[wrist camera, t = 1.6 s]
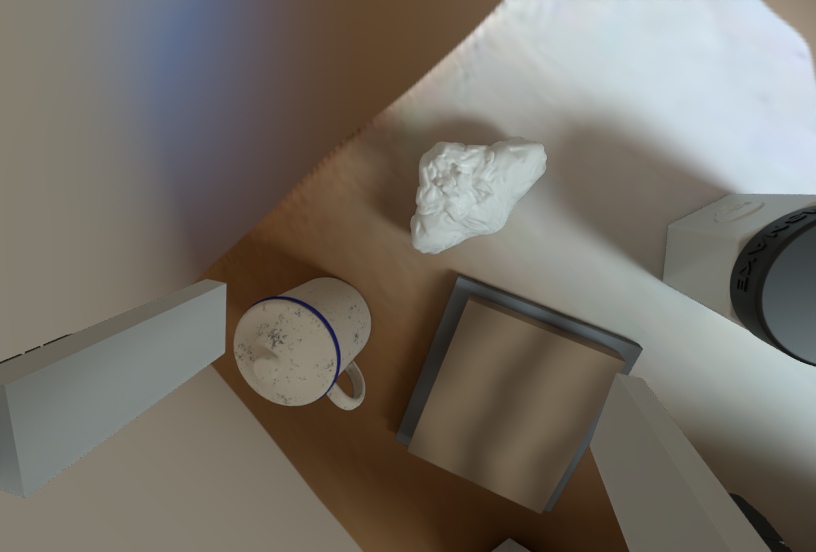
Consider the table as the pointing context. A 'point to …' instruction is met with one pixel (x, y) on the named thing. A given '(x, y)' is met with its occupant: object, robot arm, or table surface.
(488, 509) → the table surface
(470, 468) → the pedestal
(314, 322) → the teacup with lid
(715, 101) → the table surface
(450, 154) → the bust
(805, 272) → the jar
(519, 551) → the die
